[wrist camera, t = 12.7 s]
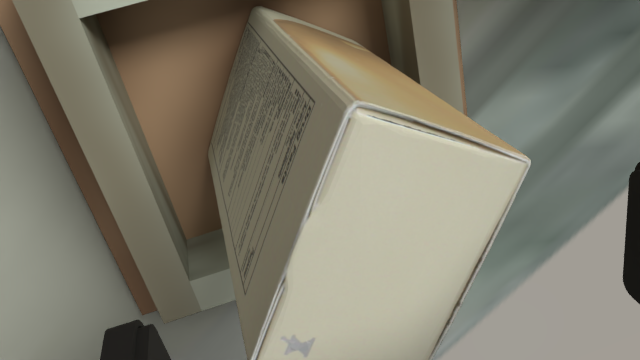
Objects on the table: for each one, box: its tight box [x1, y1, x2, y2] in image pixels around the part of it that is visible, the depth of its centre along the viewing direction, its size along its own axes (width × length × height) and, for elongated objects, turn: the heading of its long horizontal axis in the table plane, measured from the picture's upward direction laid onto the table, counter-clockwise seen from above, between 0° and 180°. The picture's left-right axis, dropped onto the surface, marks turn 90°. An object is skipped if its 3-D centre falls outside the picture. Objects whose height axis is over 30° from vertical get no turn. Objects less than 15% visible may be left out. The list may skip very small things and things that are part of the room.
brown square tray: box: [0, 0, 467, 324], centre depth 21 cm, size 16×16×4 cm
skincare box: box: [208, 6, 531, 360], centre depth 17 cm, size 6×4×12 cm
